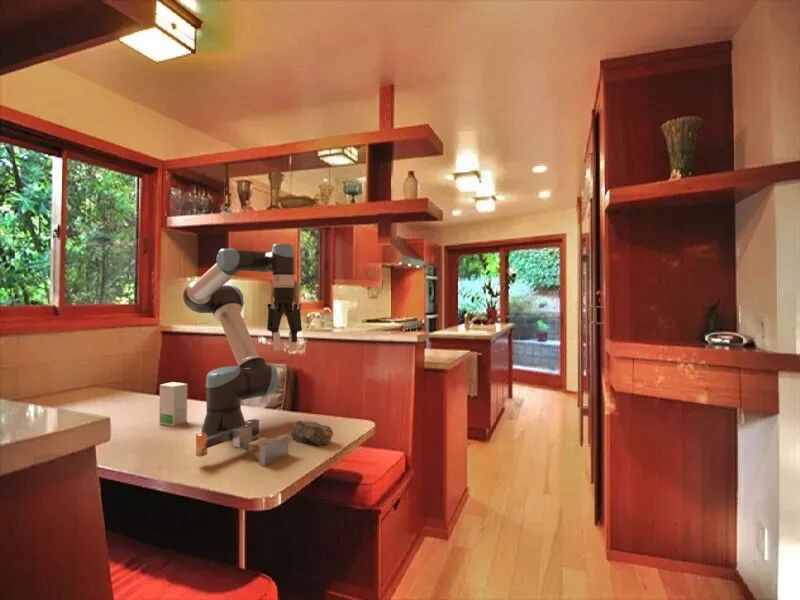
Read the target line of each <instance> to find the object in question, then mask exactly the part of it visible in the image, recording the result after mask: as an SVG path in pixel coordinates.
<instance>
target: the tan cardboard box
mask: <svg viewBox="0 0 800 600" xmlns="http://www.w3.org/2000/svg"><path fill="white" fill-rule="evenodd" d="M272 439H273V438H269V439H268V437H264V438H261V439H258V440H256V441H253V442H251V443H249V450H248V460H250V461H255V462H258V463H260V445H261V444H263V443H265V442H268V441H270V440H272Z"/></svg>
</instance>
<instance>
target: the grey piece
mask: <svg viewBox="0 0 800 600" xmlns="http://www.w3.org/2000/svg"><path fill="white" fill-rule="evenodd" d="M261 438H265V437H263V436H259V433H258V434H256V435H252V442H253V441H256V440H258V439H261ZM267 438H268V437H267ZM268 439H270V438H268ZM271 439H272V440H270V441H268V442H265V443H263V444H261V445H260V462H259V466H262V467H267V466H269V465H271V464H273V463H275V462H276V461H279V460H281V459H283V458H285V457H287V456H289V435H285V434H281V435H279V436H278V437H274V438H271ZM234 448H237V449H241V450H247V451H249V444H247V445H245V446H242V447H236V446H234Z"/></svg>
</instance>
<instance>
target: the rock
mask: <svg viewBox="0 0 800 600" xmlns="http://www.w3.org/2000/svg"><path fill="white" fill-rule="evenodd" d="M290 436H291V437H292V438H293V439H295V440H296V441H297V442H299V443H310V442H311V443H313V444H314V445H317V446H324V445H328V444H330V442H331V439H332V437H333V436H334V432H333V430H332V428H331V427H330V426H328V425H324V424H321V423H318V422H316V421H303V420H296V422H295V424H294V425H293V427H292V428H291V430H290Z"/></svg>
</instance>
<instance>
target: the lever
mask: <svg viewBox="0 0 800 600" xmlns="http://www.w3.org/2000/svg"><path fill="white" fill-rule="evenodd" d="M244 421H245V425H243V426H240V427H237V428H233V429H230V430H227V431H224V432H221V433H218V434H215V435H212V436H209V437H207V433H202V432H200V433H197V434H195V455H196V457H198V458H199V457H200V458H202V457H205V456H207V455H208V449H209V448H212V447H215V446H218V445H220V444H223V443H226V442H229V441H232V447H235V446H236V447H242V446H245V445H247V444H249V443H251V442H252V435H256V434H258V435H259V434H260V420H259V419H256V418H255V419H254V418H253V419H248V420H244ZM236 447H235V448H236Z"/></svg>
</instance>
